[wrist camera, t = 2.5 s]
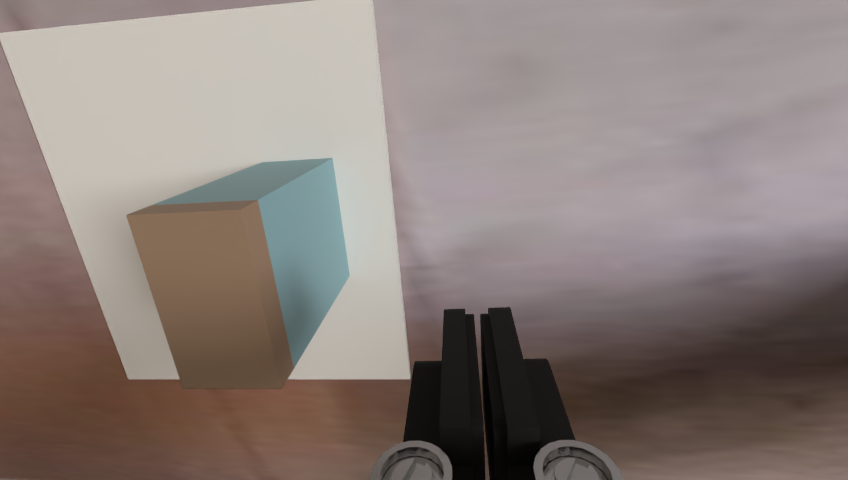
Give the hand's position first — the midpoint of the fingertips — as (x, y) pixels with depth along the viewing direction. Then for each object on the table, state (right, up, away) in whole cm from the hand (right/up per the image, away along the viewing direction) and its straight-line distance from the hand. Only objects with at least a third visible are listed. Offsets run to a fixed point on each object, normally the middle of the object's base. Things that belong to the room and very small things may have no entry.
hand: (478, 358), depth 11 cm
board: (-13, +4, +14) cm, 20 cm away
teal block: (-8, +4, +13) cm, 16 cm away
